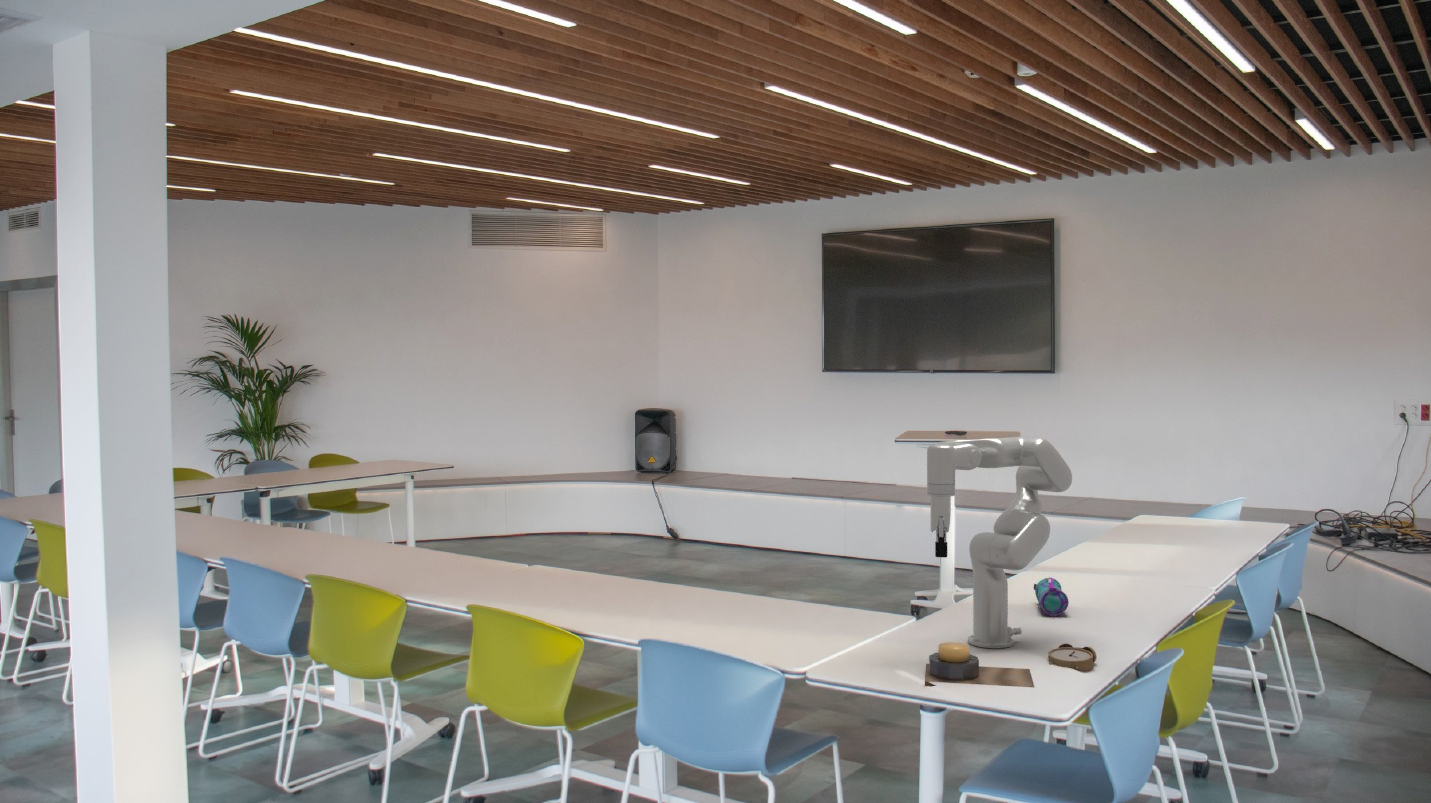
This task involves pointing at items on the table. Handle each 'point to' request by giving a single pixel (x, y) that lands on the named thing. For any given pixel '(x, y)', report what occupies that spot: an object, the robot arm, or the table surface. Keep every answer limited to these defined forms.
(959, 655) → the cap
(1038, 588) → the pencil case
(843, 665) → the table surface
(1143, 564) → the table surface
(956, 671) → the grey faceted ring
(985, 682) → the mount
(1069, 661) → the alarm clock
